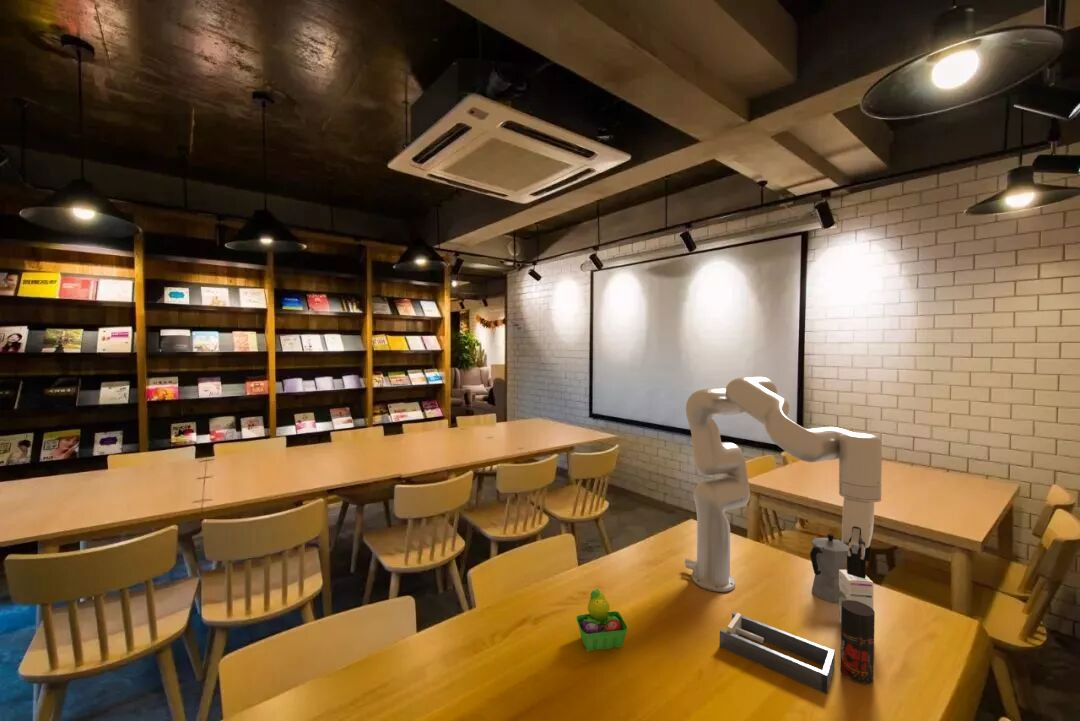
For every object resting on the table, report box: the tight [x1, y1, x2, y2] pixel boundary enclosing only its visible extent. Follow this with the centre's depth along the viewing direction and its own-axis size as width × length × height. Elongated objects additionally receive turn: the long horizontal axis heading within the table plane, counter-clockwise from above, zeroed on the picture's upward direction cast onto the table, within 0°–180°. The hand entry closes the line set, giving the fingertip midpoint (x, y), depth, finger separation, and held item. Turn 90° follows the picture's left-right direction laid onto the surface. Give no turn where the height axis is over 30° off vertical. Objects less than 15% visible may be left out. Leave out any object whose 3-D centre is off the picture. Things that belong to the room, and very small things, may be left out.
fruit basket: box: [575, 589, 629, 652], centre depth 108 cm, size 11×9×11 cm
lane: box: [719, 611, 836, 695], centre depth 102 cm, size 22×10×4 cm, turn 49°
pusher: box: [726, 612, 765, 644], centre depth 106 cm, size 7×7×4 cm
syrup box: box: [838, 569, 874, 626], centre depth 111 cm, size 6×6×14 cm
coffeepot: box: [809, 533, 849, 604], centre depth 127 cm, size 15×9×18 cm, turn 116°
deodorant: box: [840, 600, 876, 685], centre depth 97 cm, size 6×6×15 cm
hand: (858, 567), depth 96 cm, fingers open, 9 cm apart
